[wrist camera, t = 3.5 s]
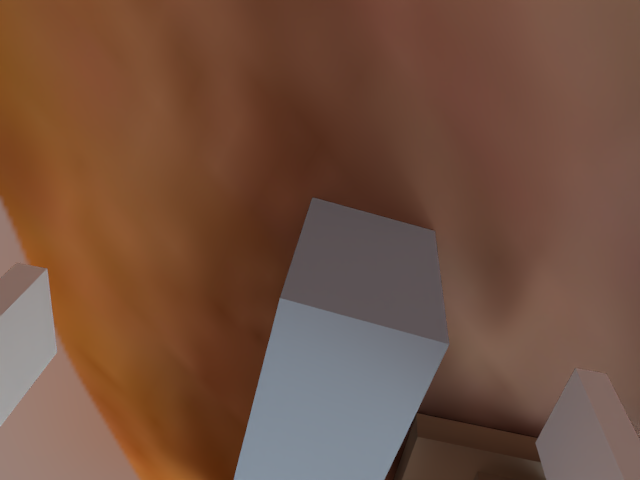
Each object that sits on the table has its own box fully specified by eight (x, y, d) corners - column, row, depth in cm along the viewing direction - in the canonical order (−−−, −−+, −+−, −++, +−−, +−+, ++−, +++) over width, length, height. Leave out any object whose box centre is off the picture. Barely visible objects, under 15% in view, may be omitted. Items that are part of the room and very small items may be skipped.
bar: (234, 495, 22) (194, 631, 18) (313, 193, 15) (279, 297, 11) (317, 518, 22) (298, 659, 18) (434, 227, 15) (448, 344, 11)
